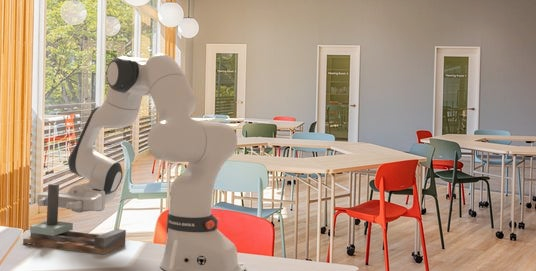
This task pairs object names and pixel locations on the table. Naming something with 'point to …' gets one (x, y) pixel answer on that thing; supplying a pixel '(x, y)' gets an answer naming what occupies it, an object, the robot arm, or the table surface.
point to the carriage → (52, 216)
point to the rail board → (81, 241)
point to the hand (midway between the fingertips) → (54, 204)
